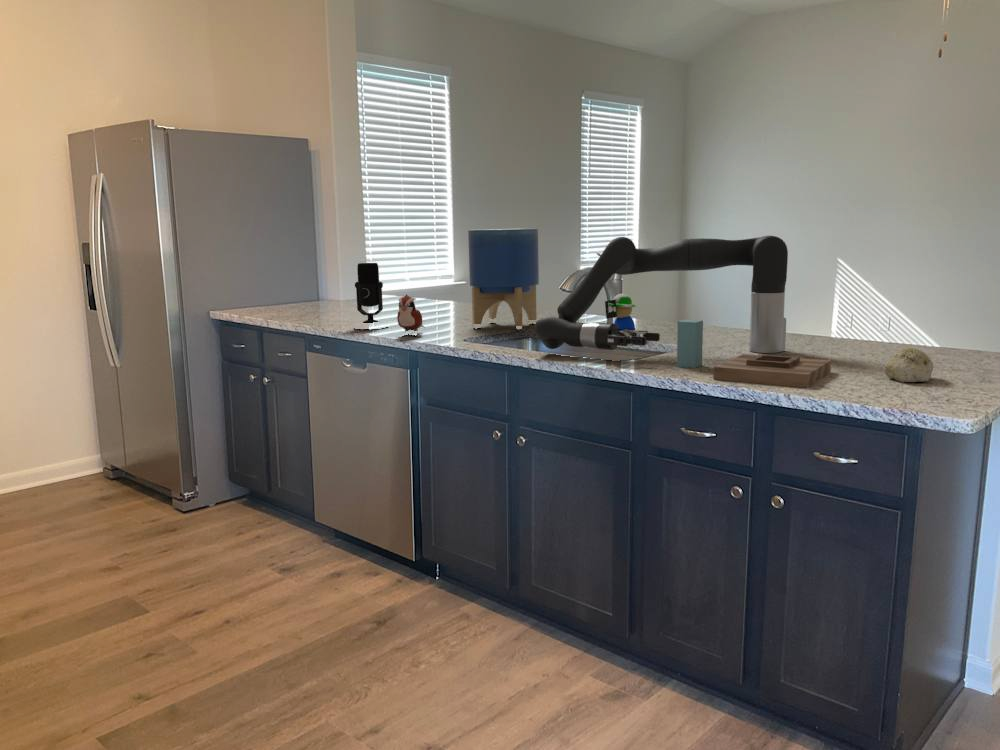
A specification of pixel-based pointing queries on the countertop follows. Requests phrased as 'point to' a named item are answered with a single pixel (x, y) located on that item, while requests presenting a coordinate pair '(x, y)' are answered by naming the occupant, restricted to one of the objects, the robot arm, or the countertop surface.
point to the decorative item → (909, 366)
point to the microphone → (369, 289)
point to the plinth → (773, 370)
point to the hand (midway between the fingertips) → (652, 339)
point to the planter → (503, 271)
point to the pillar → (689, 343)
